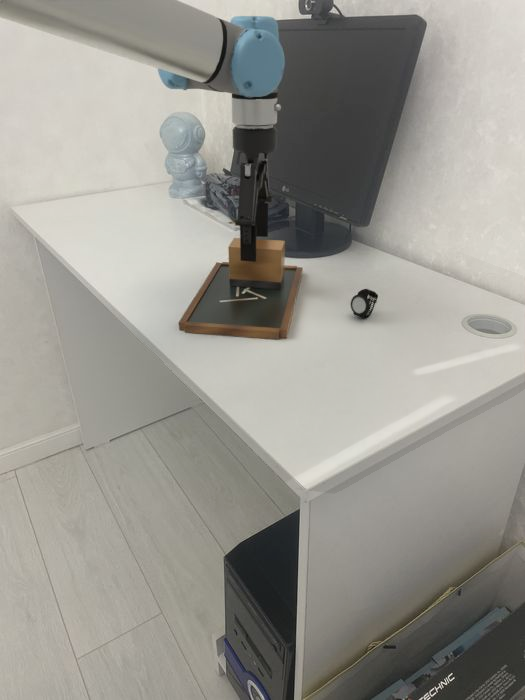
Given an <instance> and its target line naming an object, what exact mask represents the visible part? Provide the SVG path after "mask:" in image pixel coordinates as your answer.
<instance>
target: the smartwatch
mask: <svg viewBox="0 0 525 700" xmlns="http://www.w3.org/2000/svg"><path fill="white" fill-rule="evenodd" d="M378 298H379V294H378V293H377V292H376V291H374V290H371V289H368V288H363V289H361V290H359V291H358V292H357V294H355V295H354V296H353V297H352V298H351V300H350V309H351V311H352V314H353V315H354V316H356V317H358V318H360V319H364V320H365V319H368V318H369V317H370V316H371V314H372V313H373V311H374V308H375V306H376V304H377V303H378V300H379V299H378Z"/></svg>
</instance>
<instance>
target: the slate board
mask: <svg viewBox="0 0 525 700" xmlns="http://www.w3.org/2000/svg"><path fill="white" fill-rule="evenodd" d="M303 270H304V268H303V267H300V266H298V265H286V264H284V281H283V284H282V287H281V290H277V289H263V288H249V287H235V286H230V282H229V261H222V262H216V263H215V264H214V265H213V267H212V269H211V271H209V273H208V275H207V276H206V278H205V280H204V281H203V283H202V285H201V287H200V288H199V290H197V293H196V294H195V296H194V297H193V299H192V300H191V302H190V304H189V305H188V307H187V309H185V311H184V314H183V315H182V316H181V318H180V319H179V321H178V330H179V331H184V333H186V334H187V333H188V334H189V333H190V334H201V335H202V334H204V335H217V336H229V337H242V338H253V339H265V340H266V339H268V340H280V339H288V335H289V331H290V327H291V323H292V318H293V315H294V310H295V306H296V302H297V298H298V294H299V290H300V286H301V282H302V278H303V273H304V271H303Z"/></svg>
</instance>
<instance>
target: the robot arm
mask: <svg viewBox="0 0 525 700" xmlns="http://www.w3.org/2000/svg"><path fill="white" fill-rule="evenodd" d="M0 18H1V19H4V20H7V21H11V22H13V23H17V24H19V25H23V26H26V27H29V28H32V29H35V30H38V31H42V32H43V33H44V32H45V33H48V34H50V35H54V36H57V37H59V38H63V39H66V40H69V41H72V42H74V43H75V42H76V43H78V44H82V45H85V46H87V47H91V48H93V49H97V50H100V51H103V52H107V53H109V54H112V55H114V56H115V55H116V56H118V57H122V58H125V59H128V60H131V61H133V62H137V63H140V64H143V65H147V66H150V67H153V68H155V69H157V73H158V76H159V78H160V80H161V82H162V84H163V85H164V86H165V87H166V88H168V89H170V90H183V91H188V90H204V91H211V92H216V93H227V94H231V123H232V124H233V125H235V126H234V127H233V128H232V148H233V150H234V151H235V152H237V153H241V154H242V153H243V154H244V155H245V157H244V162H240V165H239V170H240V172H239V173H240V174H239V175H240V176H239V177H240V178H239V192H238V207H237V219H235V220H234V225H235V226H239V238H240V254H241V261H253V262H256V239H257V237H263V238H268V237H269V203H272V202H273V196H272V195H271V191H270V190H271V189H270V175H269V156H268V155H269V154H270V153H273V152H275V151H276V150H277V148H278V128H277V127H276V126H274V125H276V124H277V122H278V112H279V111H281V110H282V106H281V104H280V103H277V102H278V96H279V95H278V92H279V85H280V83H281V82H282V78H283V75H284V72H285V65H286V59H285V52H284V48H283V47H282V44H281V41H280V33H279V24H278V21H277V20H276V19H275V18H274V17H273V16H266V15H236V16H235V15H234V16H233V17H231V19H230V21H227V20H225V19H222V18H219V17H217V16H215V15H213V14H211V13H209V12H206V11H204V10H202V9H199V8H197V7H194V6H192V5H190V4H187V3H186V2H183V1H180V0H0Z"/></svg>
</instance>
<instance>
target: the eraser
mask: <svg viewBox="0 0 525 700" xmlns="http://www.w3.org/2000/svg"><path fill="white" fill-rule="evenodd" d="M227 251H228V262H229V282H230V286H235V287H249V288H263V289H277V290H281V287H282V284H283V281H284V265H285V261H286V260H285V256H286V241H285V240H278V239H260V238H256V262H253V261H241V254H240V237H233V239H232V240H231V242H230V244H229V245H228V250H227Z"/></svg>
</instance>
